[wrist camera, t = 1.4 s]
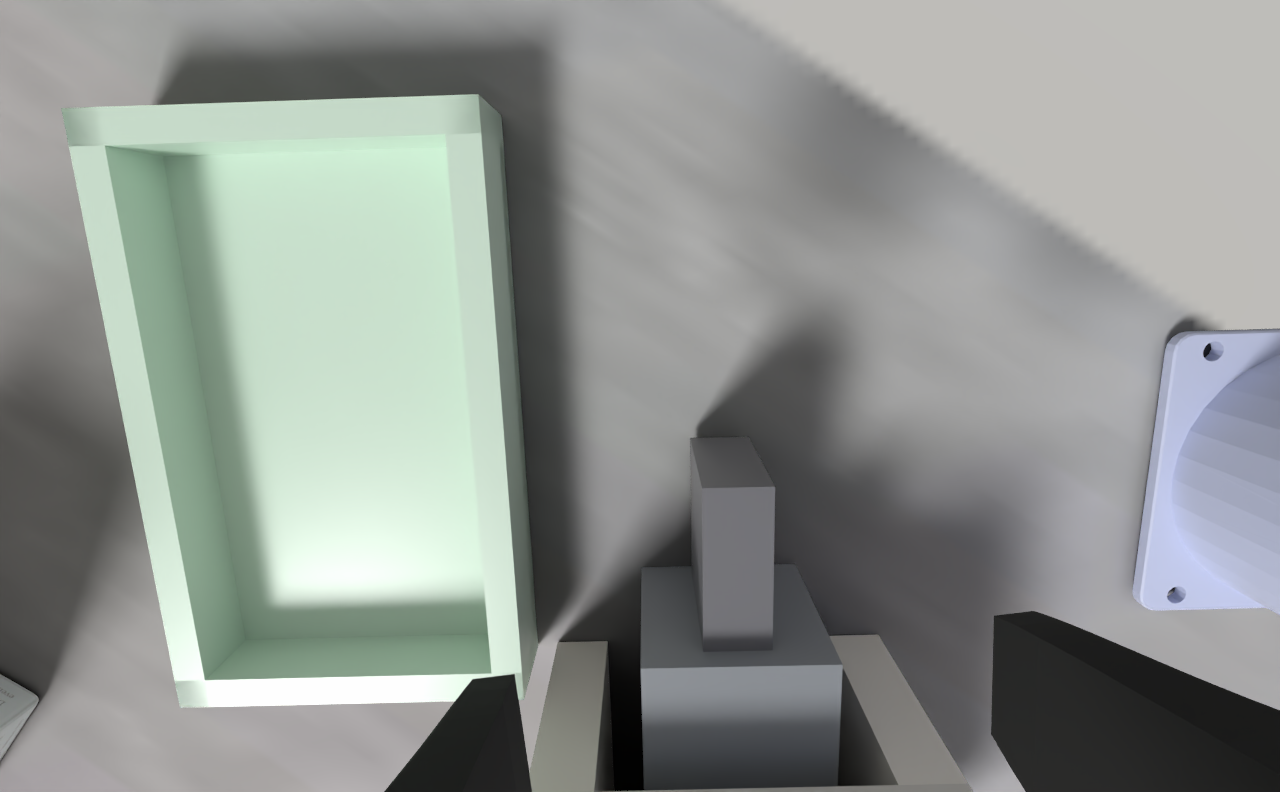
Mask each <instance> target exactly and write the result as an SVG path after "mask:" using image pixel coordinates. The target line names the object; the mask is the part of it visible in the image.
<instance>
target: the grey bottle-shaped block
mask: <svg viewBox="0 0 1280 792" xmlns="http://www.w3.org/2000/svg"><path fill="white" fill-rule="evenodd" d="M690 461H691V550H692V566H684V567H642V579H641V698H642V731H643V765H644V791H648V790H694V789H740V788H787V787H833V786H838V765H839V741H840V717H841V693H842V669H843V664H842V662H841V660H840V658H839V656H838V654H837V652H836V649H835V647H834V645H833V643H832V641H831V639H830V637H829V635H828V632H827V630H826V628H825V626H824V624H823V622H822V620H821V618H820V616H819V613H818V611H817V609H816V607H815V605H814V603H813V601H812V599H811V596H810V594H809V592H808V590H807V588H806V586H805V584H804V582H803V579H802V577H801V575H800V573H799V571H798V569H797V567H796V565H795V564H774V532H775V485H774V483H773V482H772V480H771V478H770V476H769V474H768V472H767V470H766V469H765V467H764V465H763V463H762V461H761V459H760V457H759V456H758V454H757V452H756V450H755V448H754V446H753V444H752V443H751V441H750V439H749V437H710V438H690Z"/></svg>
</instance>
